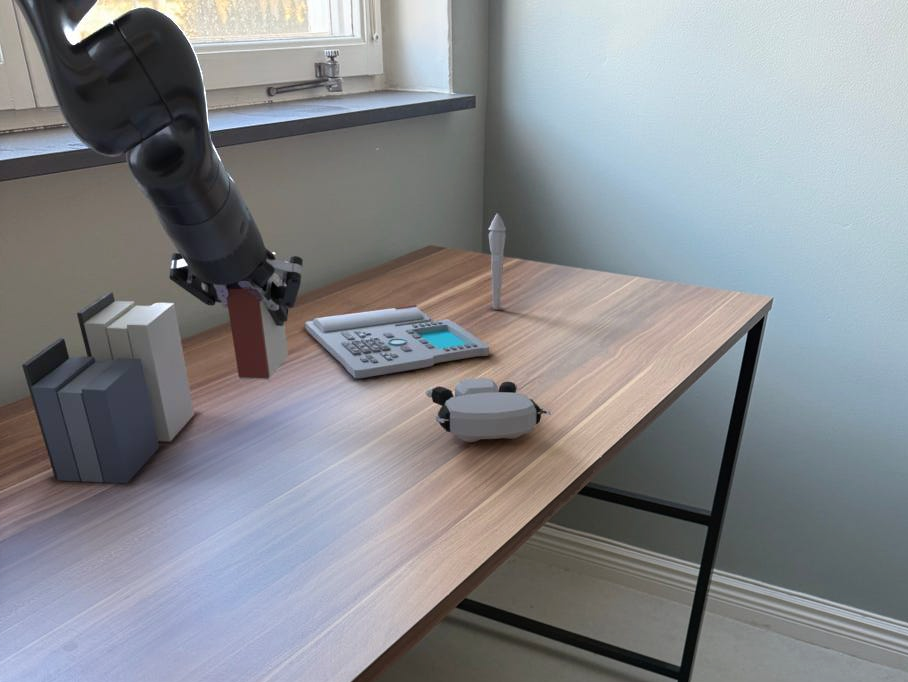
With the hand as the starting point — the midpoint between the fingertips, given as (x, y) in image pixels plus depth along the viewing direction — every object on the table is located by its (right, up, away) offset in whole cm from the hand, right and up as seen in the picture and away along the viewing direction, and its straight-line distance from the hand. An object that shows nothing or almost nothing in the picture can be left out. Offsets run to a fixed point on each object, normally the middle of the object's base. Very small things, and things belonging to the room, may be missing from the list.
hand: (263, 317), depth 100 cm
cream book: (0, -5, +1) cm, 5 cm away
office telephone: (+12, +7, +31) cm, 34 cm away
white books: (-14, -10, +7) cm, 19 cm away
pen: (+26, +17, +45) cm, 54 cm away
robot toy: (+24, -10, +7) cm, 27 cm away
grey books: (-16, -16, -1) cm, 23 cm away
